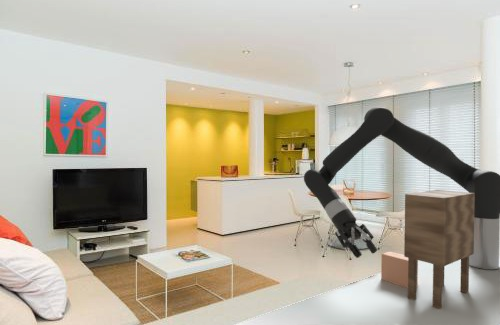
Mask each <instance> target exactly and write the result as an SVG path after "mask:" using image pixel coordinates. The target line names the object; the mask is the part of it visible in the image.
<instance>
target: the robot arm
mask: <svg viewBox="0 0 500 325" xmlns="http://www.w3.org/2000/svg"><path fill="white" fill-rule="evenodd" d="M363 120H364V121H363V122H362V123H361V125H360V126H359V127H358V128H357V129H356V131H354V132H353V133H352V134H351V135H349V137H348V138H347V139H345V140H344V141H342V143H340V144H338V146H336V147H335V148H334V149H333V150H332V151H331V152H330V153H329V154H328V155H326V156H325V158H324V159H323V160H322V167H321V168H320V169H319V170H318V169H315V168H314V169H313V168H312V169H311V168H310V169H308V170H306V171H305V172H304V176H303V181H304V184H305V185H306V187H307V188H308V190H309V191H310V192H311V193H312V194H313V195H314V196H315V197H316V199H318V201H319V203H320V205H321V207H322V208H323V209H324V211H325V213H326V215H327V217H328V218H329V219H330V221H331V223H332V224H333V225H334V227H335V229H336V231H335V232H334V234H335V236H336V238H337V239H338V241H339V243H340V244H341V246H342V248H344V249H346V248H347V249H349V250H350V251H351V253H352V254H353V256H354V257H355V258H356V259H358V258H360V257H361V256H362V255H363V254H362V252H361V250H360V249H359V247H358V246H357V245H356V244H355V241H359V242H362V243H364V244H365V245H366V247H367V248H368V250H369V251H370V252H371V254H375V253H376V252H377V251H378V249H377V247H376V246H375V244H374V243H373V241H372V240H374V235H373V234H372V233H371V232H370V230H369V229H368V228H367V226H366V225H365V224H364V223H362V224H360V225H358V224H357V222H356V221H357V218H356V217H355V215H354V214H353V212H352V211H351V210H350V208H349V207H348V206H347V204H346V202H344V201H343V199H342V198H341V197H340V196H339V195H338V193H337V191H336V190H335V189H334V188H333V187H331V186H330V184H331V182H332V181H333V179H334V178H335V177H336V175H337V173H338V172H339V171H340V170H342V169H343V168H344V167H345V166H346V165H347V164H348V163H349V162H350V161H351V160H353V158H355V157H356V156H357V155H358V153H359V152H361V151H362V150H363V149H364V148H365V147H366V146H368V145H369V144H370V143H371V142H373V141H374V140H376V139H377V138H378V137H380V136H382V137H383V138H386V139H388V140H389V141H392V143H395V144H396V145H397V146H398V147H399V148H401V149H402V150H404V152H406V153H407V154H409V155H410V156H411V157H413V158H414V159H416V160H417V161H419V162H421V164H424V165H425V166H427V167H429V168H431V169H433V170H435V171H436V172H438V173H440V174H442V175H444V176H446V177H448V178H450V179H451V180H452V181H454V183H456V184H458V185H459V186H460V187H462V188H463V189H464V190H466V191H467V193H475V203H474V254H472V255H470V256H469V266H471V267H474V268H477V269H483V270H497V269H499V268H500V174H499V173H497V172H495V171H493V170H482V169H478V168H477V167H473V166H472V165H470V164H468V163H466V162H465V161H463V160H461V159H460V158H459V157H458V156H457V155H456V154H455V153H454V152H453V150H451V148H449V147H448V146H447V145H446V144H444V143H443V142H441V141H439V140H438V139H436V138H435V137H433V136H431V135H429V134H426V133H424V132H422V131H420V130H419V129H417V128H416V129H415V128H413V127H411V126H409V125H407V124H404V123H403V122H402V121H401V120H398V119H397V118H396V117H394V114H393V112H392V111H391V110H390V109H388V108H387V107H383V106H376V107H372V108H370V109H369V110H367V112H366V113H365V115H364V118H363Z"/></svg>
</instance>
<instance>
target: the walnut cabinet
mask: <svg viewBox="0 0 500 325" xmlns="http://www.w3.org/2000/svg"><path fill="white" fill-rule="evenodd" d="M474 203H475V193H469V192H468V191H467V192H465V191H464V192H463V191H452V190H442V189H441V190H440V189H435V190H434V189H433V190H428V191H420V192H419V191H418V192H413V193H412V192H411V193H405V194H404V244H403V245H404V247H403V248H404V249H403V250H404V253H403V255H404V257H408V288H407V299H411V300H412V301H413V300H416V299H417V285H416V281H417V260H418V262H419V261H420V262H424V263H428V264H430V265H431V264H432V267H433V268H432V269H433V270H432V272H433V273H432V308H436V309H441V308H442V307H443V306H442V304H443V303H442V302H443V286H444V285H445V267H446V266H447V265H451V264H453V263H455V262H458V261H460V289H459V290H460V293H464V294H467V293H469V290H470V289H469V288H470V287H469V286H470V284H469V282H470V265H469V256H470V255H472V254H474Z"/></svg>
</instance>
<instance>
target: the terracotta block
mask: <svg viewBox="0 0 500 325" xmlns="http://www.w3.org/2000/svg"><path fill="white" fill-rule="evenodd" d="M380 266H381V271H380V272H381V275H380V276H381V277H380V278H381V280H383V281H386V282H389V283H393V284H395V285H398V286H401V287H404V288H407V289H408V257H404V253H403V254H402V253H397V252H394V251H387V252H382V253H381V265H380ZM418 267H419V260H417V281H416V286H418V284H419V282H418V280H419V277H418V271H419V268H418Z"/></svg>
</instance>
